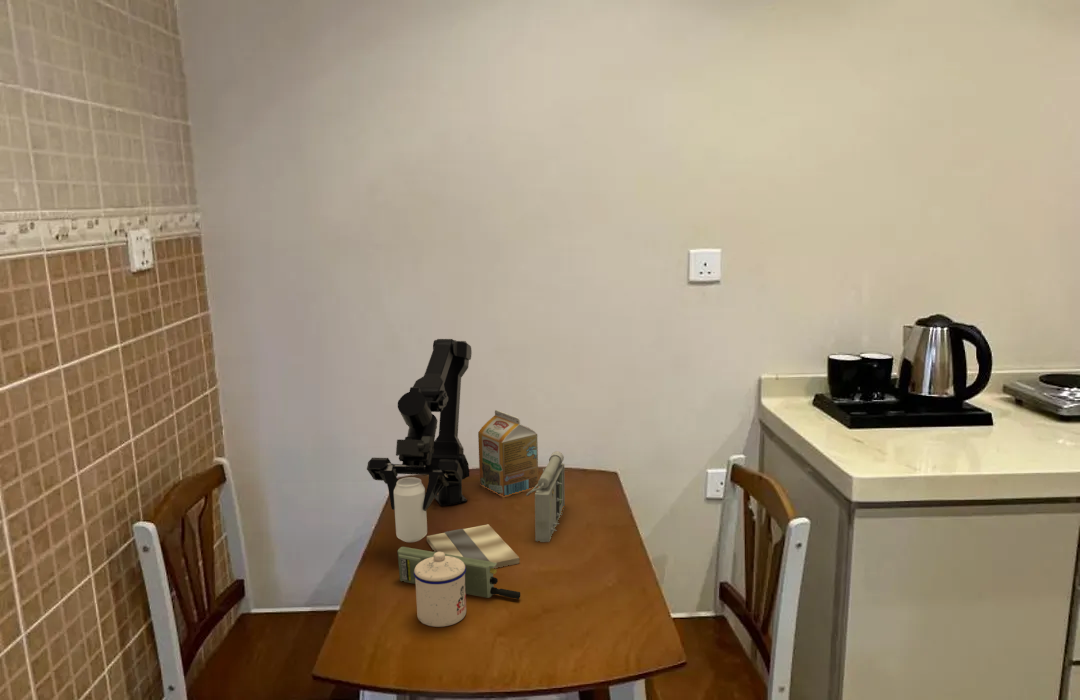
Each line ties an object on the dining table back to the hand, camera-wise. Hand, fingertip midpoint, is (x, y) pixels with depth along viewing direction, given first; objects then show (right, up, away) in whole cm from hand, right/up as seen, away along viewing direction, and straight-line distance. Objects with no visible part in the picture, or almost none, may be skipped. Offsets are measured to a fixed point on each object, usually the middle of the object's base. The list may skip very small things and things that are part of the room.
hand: (408, 509), depth 159 cm
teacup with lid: (+9, -15, -16) cm, 23 cm away
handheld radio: (+11, -14, -8) cm, 19 cm away
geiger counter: (+28, -7, +23) cm, 37 cm away
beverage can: (0, -6, +3) cm, 7 cm away
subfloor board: (+12, -10, +7) cm, 17 cm away
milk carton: (+18, -3, +43) cm, 47 cm away
